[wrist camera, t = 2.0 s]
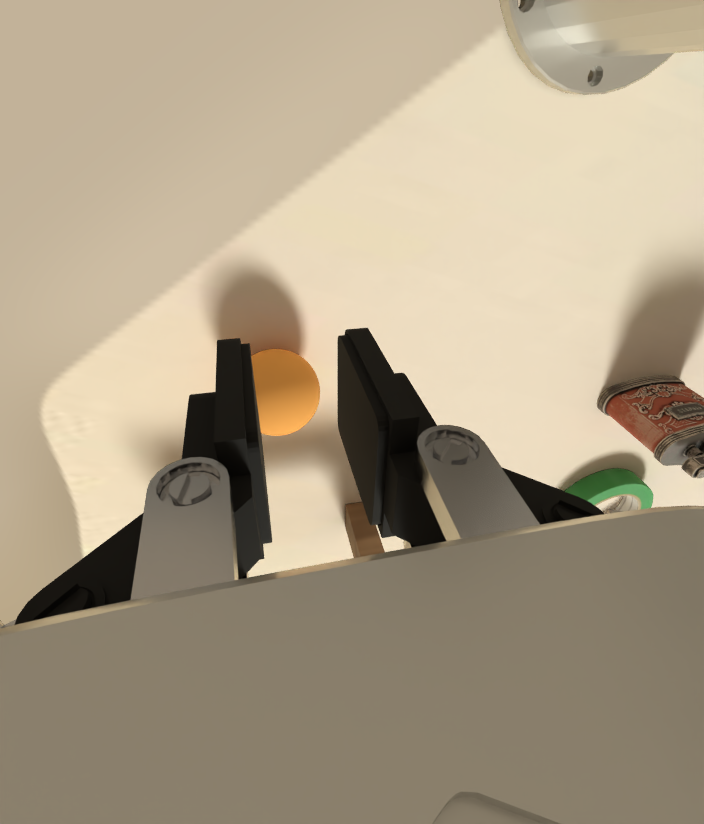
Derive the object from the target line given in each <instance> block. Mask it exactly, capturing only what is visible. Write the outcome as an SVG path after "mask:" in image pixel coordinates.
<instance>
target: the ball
mask: <svg viewBox="0 0 704 824" xmlns="http://www.w3.org/2000/svg"><path fill="white" fill-rule="evenodd" d="M251 359H252V366H253V374H254V382H255V390H256V398H257V405H258V413H259V421H260V429H261V433H262V434H266V435H272V436H281V435H287V434H290V433H293V432H295V431H297V430H299V429H300V428H302V427H303V426H304V425H306V424H307V423H308V422H309V421H310V420H311V418H312V417H313V415H314V414H315V412H316V410H317V407H318V404H319V399H320V386H319V382H318V378H317V376H316V374H315V371H314V370H313V368H312V367H311V366H310V364H309V363H308V362H307V361H306V360H305V359H303V358H302V357H301V356H299V355H297V354H295V353H293V352H291V351H288V350H283V349H268V350H264V351H261V352H258V353H256V354H254V355H252V356H251Z"/></svg>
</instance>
